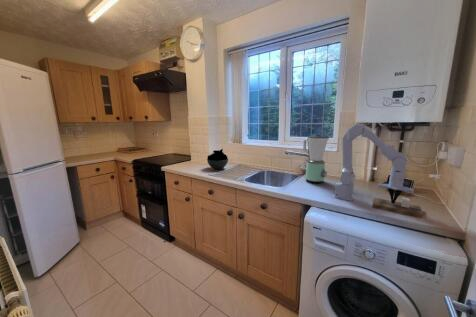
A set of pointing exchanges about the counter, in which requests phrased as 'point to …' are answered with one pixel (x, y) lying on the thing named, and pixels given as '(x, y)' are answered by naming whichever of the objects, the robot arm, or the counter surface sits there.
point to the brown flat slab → (397, 208)
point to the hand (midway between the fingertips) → (392, 202)
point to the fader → (405, 202)
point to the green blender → (315, 158)
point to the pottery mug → (394, 190)
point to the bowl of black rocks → (217, 159)
